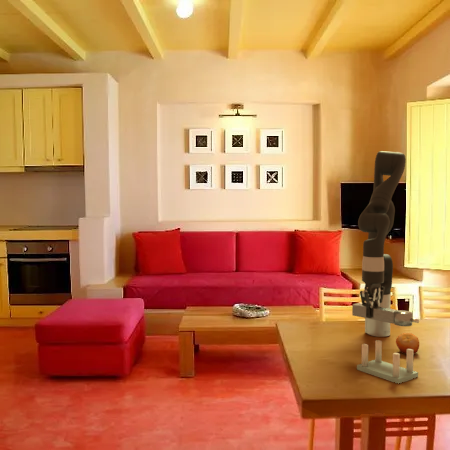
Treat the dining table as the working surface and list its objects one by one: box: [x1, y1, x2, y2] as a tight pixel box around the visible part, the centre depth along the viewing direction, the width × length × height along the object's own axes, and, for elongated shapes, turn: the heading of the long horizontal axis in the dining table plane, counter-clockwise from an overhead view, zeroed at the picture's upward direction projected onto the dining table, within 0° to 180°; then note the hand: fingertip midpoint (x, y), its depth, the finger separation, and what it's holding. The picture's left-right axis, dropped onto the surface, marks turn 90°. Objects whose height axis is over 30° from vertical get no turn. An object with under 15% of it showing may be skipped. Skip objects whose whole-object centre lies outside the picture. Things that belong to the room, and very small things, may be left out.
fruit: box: [395, 332, 420, 355], centre depth 184 cm, size 8×8×8 cm
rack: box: [356, 339, 419, 385], centre depth 162 cm, size 16×10×8 cm, turn 35°
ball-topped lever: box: [351, 302, 420, 327], centre depth 176 cm, size 24×6×4 cm, turn 45°
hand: (372, 316), depth 180 cm, fingers closed on ball-topped lever, 3 cm apart
